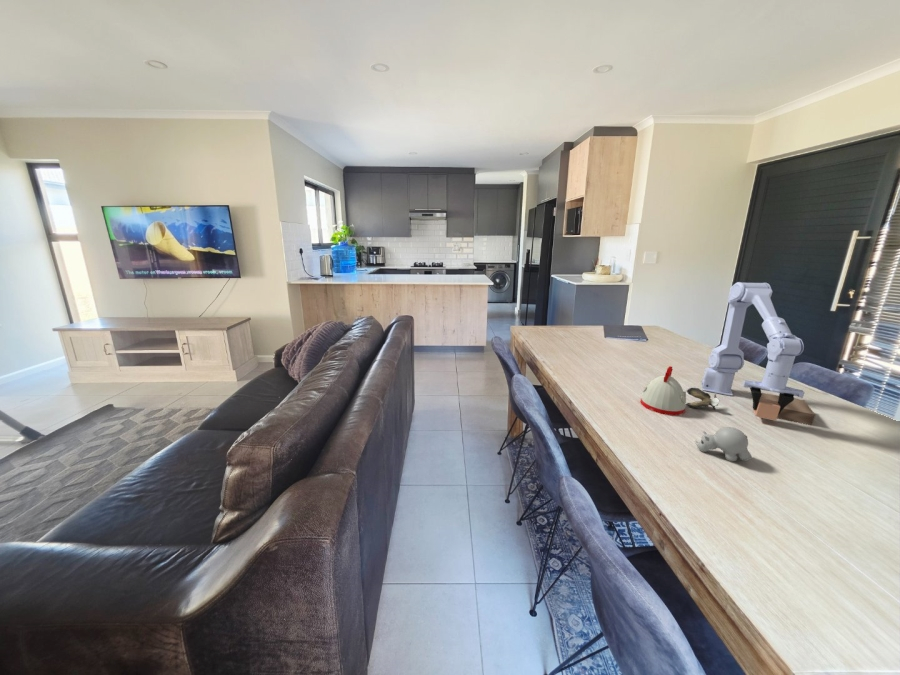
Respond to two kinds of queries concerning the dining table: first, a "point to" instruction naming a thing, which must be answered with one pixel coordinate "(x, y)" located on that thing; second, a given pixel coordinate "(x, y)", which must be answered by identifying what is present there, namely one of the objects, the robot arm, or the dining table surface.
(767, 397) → the walnut plinth
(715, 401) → the eagle figurine
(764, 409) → the terracotta cube
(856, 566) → the dining table surface
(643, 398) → the chicken-shaped dome
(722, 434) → the round bodied animal figurine
